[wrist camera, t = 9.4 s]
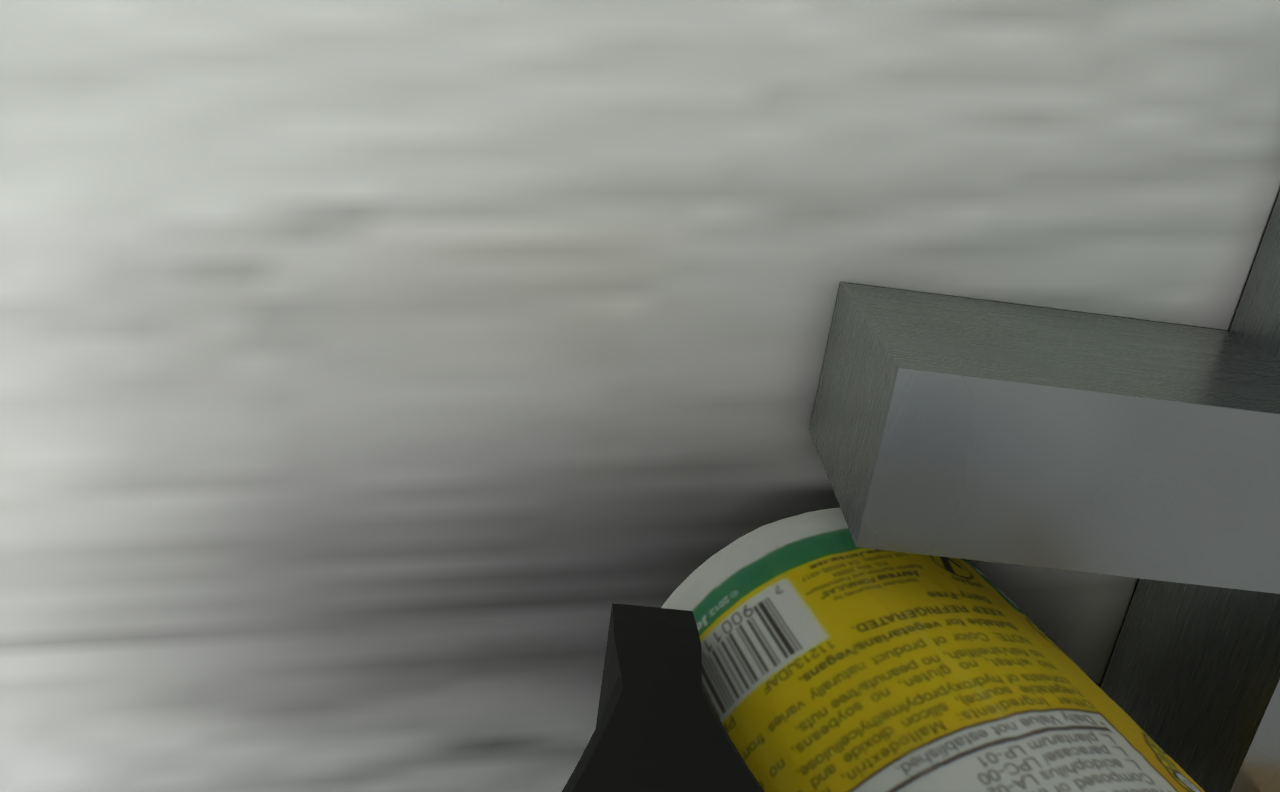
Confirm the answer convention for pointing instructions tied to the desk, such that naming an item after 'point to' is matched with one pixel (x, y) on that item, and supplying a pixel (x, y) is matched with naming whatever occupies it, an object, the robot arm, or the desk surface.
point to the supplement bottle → (898, 675)
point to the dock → (1087, 482)
